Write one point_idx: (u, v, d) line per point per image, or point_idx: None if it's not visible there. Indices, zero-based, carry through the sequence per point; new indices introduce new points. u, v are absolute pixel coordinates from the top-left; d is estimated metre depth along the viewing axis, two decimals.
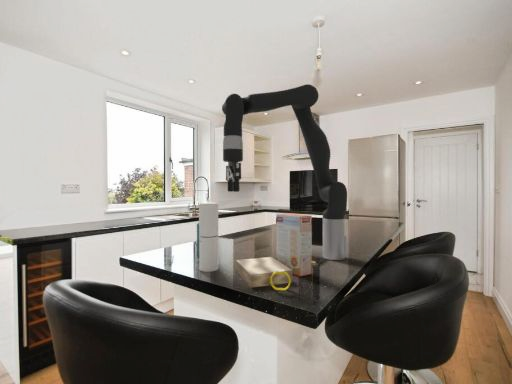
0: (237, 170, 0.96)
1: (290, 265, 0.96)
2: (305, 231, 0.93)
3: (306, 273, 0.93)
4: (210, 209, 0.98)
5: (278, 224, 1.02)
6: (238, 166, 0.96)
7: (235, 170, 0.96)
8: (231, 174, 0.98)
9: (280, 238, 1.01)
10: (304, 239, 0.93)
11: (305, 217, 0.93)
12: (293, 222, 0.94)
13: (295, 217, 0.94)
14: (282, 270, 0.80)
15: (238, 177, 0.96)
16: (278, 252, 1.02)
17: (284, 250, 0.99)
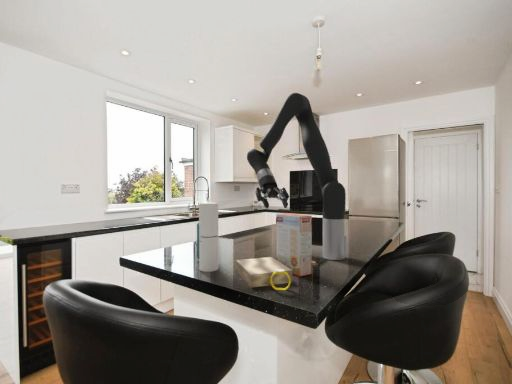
0: (257, 194, 1.15)
1: (290, 265, 0.96)
2: (305, 231, 0.93)
3: (306, 273, 0.93)
4: (210, 209, 0.98)
5: (278, 224, 1.02)
6: (256, 191, 1.16)
7: (256, 195, 1.16)
8: None
9: (280, 238, 1.01)
10: (304, 239, 0.93)
11: (305, 217, 0.93)
12: (293, 222, 0.94)
13: (295, 217, 0.94)
14: (282, 270, 0.80)
15: (258, 198, 1.14)
16: (278, 252, 1.02)
17: (284, 250, 0.99)
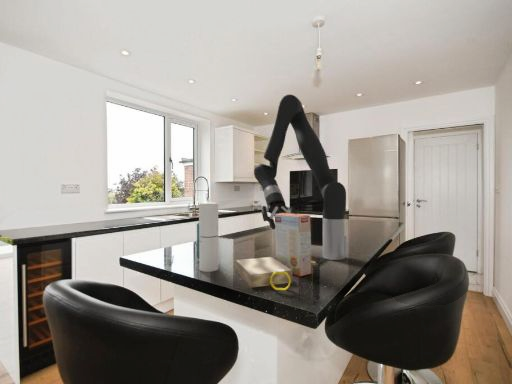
0: (263, 213, 1.08)
1: (289, 265, 0.96)
2: (304, 231, 0.93)
3: (306, 273, 0.93)
4: (210, 209, 0.98)
5: (276, 224, 1.02)
6: (262, 210, 1.08)
7: (262, 214, 1.08)
8: None
9: (279, 238, 1.01)
10: (303, 239, 0.93)
11: (304, 217, 0.93)
12: (292, 223, 0.94)
13: (294, 217, 0.93)
14: (282, 270, 0.80)
15: (264, 217, 1.06)
16: (277, 252, 1.02)
17: (284, 250, 0.99)
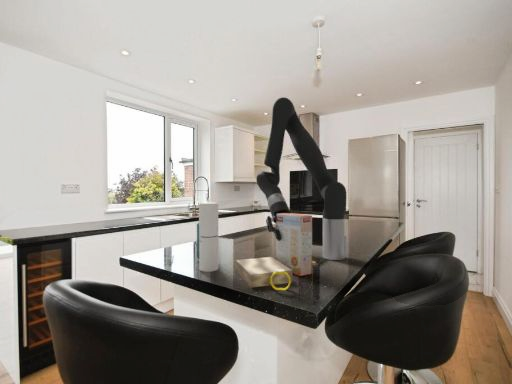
0: (267, 224, 1.04)
1: (290, 265, 0.96)
2: (306, 231, 0.93)
3: (306, 273, 0.93)
4: (210, 209, 0.98)
5: (278, 224, 1.02)
6: (267, 220, 1.05)
7: (267, 225, 1.05)
8: None
9: None
10: (304, 239, 0.93)
11: (306, 217, 0.93)
12: (294, 222, 0.95)
13: (296, 217, 0.94)
14: (282, 270, 0.80)
15: (269, 228, 1.02)
16: (278, 252, 1.02)
17: (284, 250, 0.99)
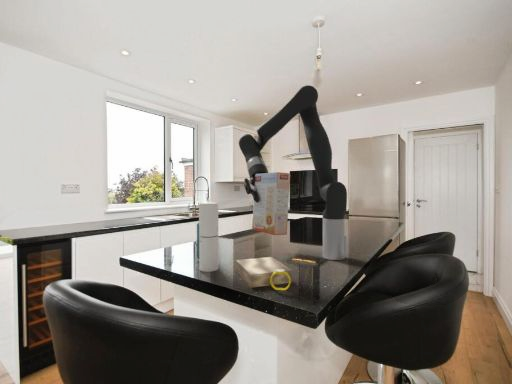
0: (245, 186, 1.00)
1: (265, 225, 0.92)
2: (282, 188, 0.89)
3: (281, 232, 0.89)
4: (210, 209, 0.98)
5: (256, 184, 0.99)
6: (244, 182, 1.00)
7: (245, 187, 1.00)
8: None
9: None
10: (280, 197, 0.89)
11: (283, 174, 0.89)
12: (271, 179, 0.91)
13: (273, 173, 0.90)
14: (282, 270, 0.80)
15: (247, 190, 0.98)
16: (254, 213, 0.98)
17: (260, 210, 0.95)
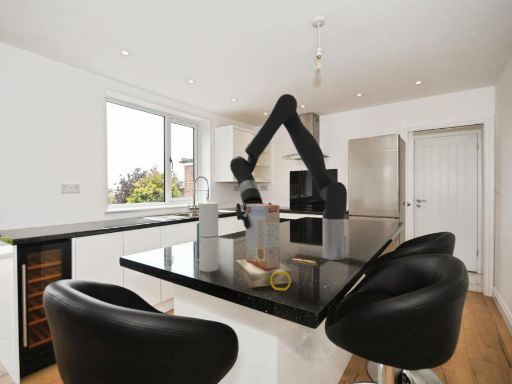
0: (236, 211, 0.98)
1: (257, 258, 0.91)
2: (272, 221, 0.87)
3: (273, 266, 0.88)
4: (210, 209, 0.98)
5: None
6: (236, 207, 0.98)
7: (236, 212, 0.98)
8: None
9: (248, 230, 0.96)
10: (270, 230, 0.87)
11: (272, 206, 0.87)
12: (260, 212, 0.89)
13: (261, 207, 0.88)
14: (282, 270, 0.80)
15: (238, 216, 0.96)
16: (247, 244, 0.97)
17: (252, 242, 0.93)
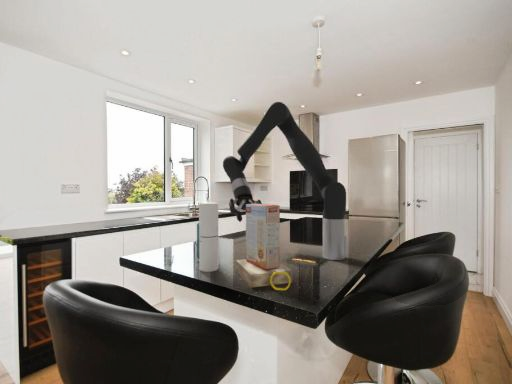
0: (230, 205, 1.09)
1: (257, 258, 0.91)
2: (272, 222, 0.87)
3: (273, 266, 0.88)
4: (210, 209, 0.98)
5: (247, 215, 0.97)
6: (230, 202, 1.10)
7: (230, 207, 1.10)
8: None
9: (249, 230, 0.96)
10: (271, 230, 0.87)
11: (272, 207, 0.87)
12: (260, 212, 0.89)
13: (262, 207, 0.88)
14: (282, 270, 0.80)
15: (231, 210, 1.07)
16: (247, 244, 0.97)
17: (252, 242, 0.93)
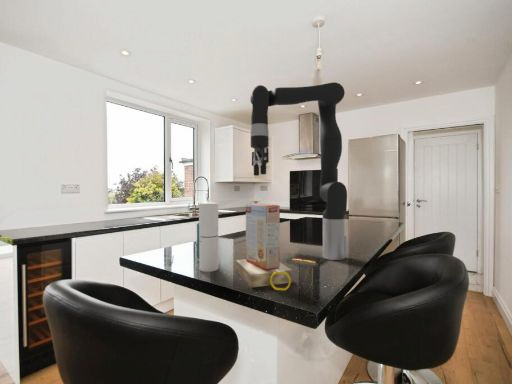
0: (265, 154, 1.06)
1: (257, 258, 0.91)
2: (272, 222, 0.87)
3: (273, 266, 0.88)
4: (210, 209, 0.98)
5: (247, 215, 0.97)
6: (266, 151, 1.06)
7: (263, 154, 1.06)
8: (259, 158, 1.08)
9: (249, 230, 0.96)
10: (271, 230, 0.87)
11: (272, 207, 0.87)
12: (260, 212, 0.89)
13: (262, 207, 0.88)
14: (282, 270, 0.80)
15: (266, 161, 1.06)
16: (247, 244, 0.97)
17: (252, 242, 0.93)
